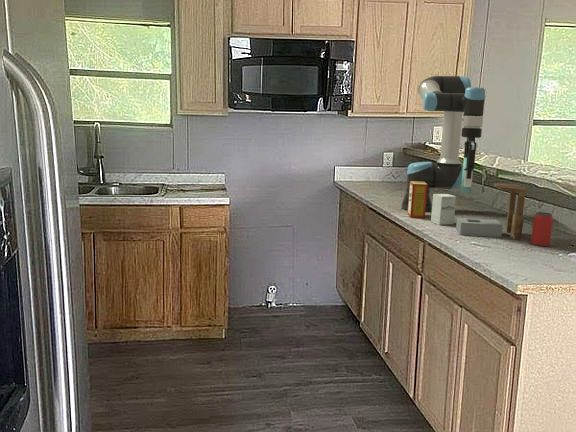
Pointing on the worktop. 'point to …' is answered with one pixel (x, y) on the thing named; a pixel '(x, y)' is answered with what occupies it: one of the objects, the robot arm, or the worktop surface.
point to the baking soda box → (417, 199)
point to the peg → (464, 189)
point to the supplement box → (443, 209)
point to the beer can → (542, 229)
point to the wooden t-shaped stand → (513, 219)
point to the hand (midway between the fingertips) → (466, 185)
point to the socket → (479, 227)
